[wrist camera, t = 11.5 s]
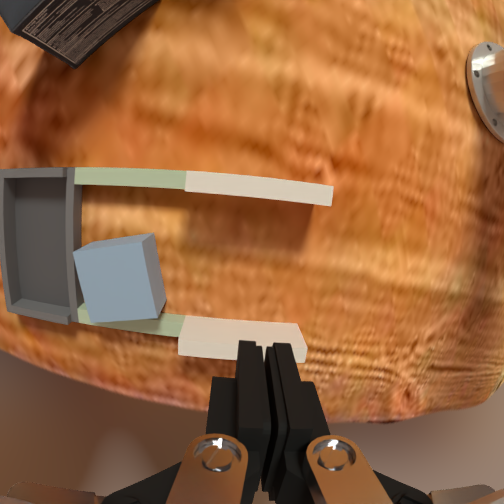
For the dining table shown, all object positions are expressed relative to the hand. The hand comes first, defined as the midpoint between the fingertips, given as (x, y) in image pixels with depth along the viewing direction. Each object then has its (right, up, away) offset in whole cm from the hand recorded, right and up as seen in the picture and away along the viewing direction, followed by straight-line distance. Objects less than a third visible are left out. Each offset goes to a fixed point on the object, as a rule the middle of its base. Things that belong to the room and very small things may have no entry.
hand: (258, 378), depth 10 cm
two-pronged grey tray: (-10, +4, +16) cm, 19 cm away
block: (-11, +3, +16) cm, 20 cm away
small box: (-14, +26, +11) cm, 32 cm away
